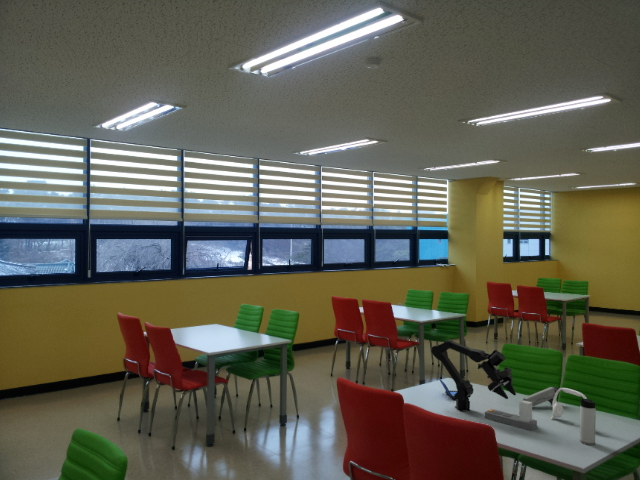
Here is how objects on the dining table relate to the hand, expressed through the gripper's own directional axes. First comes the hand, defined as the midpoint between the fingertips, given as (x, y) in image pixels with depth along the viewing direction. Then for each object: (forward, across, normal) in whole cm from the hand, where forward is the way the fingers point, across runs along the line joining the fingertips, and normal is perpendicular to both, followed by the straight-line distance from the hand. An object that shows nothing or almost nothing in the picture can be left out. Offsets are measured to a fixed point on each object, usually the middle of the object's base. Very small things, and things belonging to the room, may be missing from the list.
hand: (511, 396), depth 253 cm
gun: (+10, +39, +9) cm, 41 cm away
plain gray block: (+14, 0, +4) cm, 15 cm away
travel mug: (+35, 0, -16) cm, 38 cm away
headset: (+25, +20, -6) cm, 33 cm away
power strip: (+9, 0, +10) cm, 13 cm away
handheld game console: (-22, +18, +41) cm, 49 cm away
